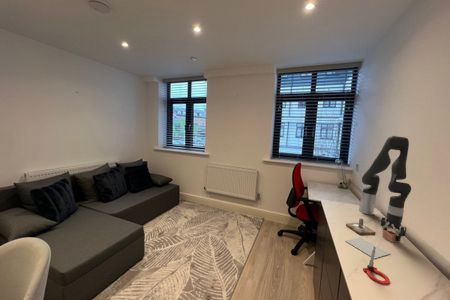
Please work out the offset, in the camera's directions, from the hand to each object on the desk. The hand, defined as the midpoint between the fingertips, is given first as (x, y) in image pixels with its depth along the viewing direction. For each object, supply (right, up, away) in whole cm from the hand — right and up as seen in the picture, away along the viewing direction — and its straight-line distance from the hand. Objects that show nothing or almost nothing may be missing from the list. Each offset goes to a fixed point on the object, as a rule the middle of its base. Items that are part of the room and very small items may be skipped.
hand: (390, 237), depth 124 cm
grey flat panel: (-17, -2, -13) cm, 22 cm away
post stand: (-13, +1, +10) cm, 16 cm away
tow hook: (-35, -4, -34) cm, 49 cm away
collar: (0, -1, 0) cm, 1 cm away
